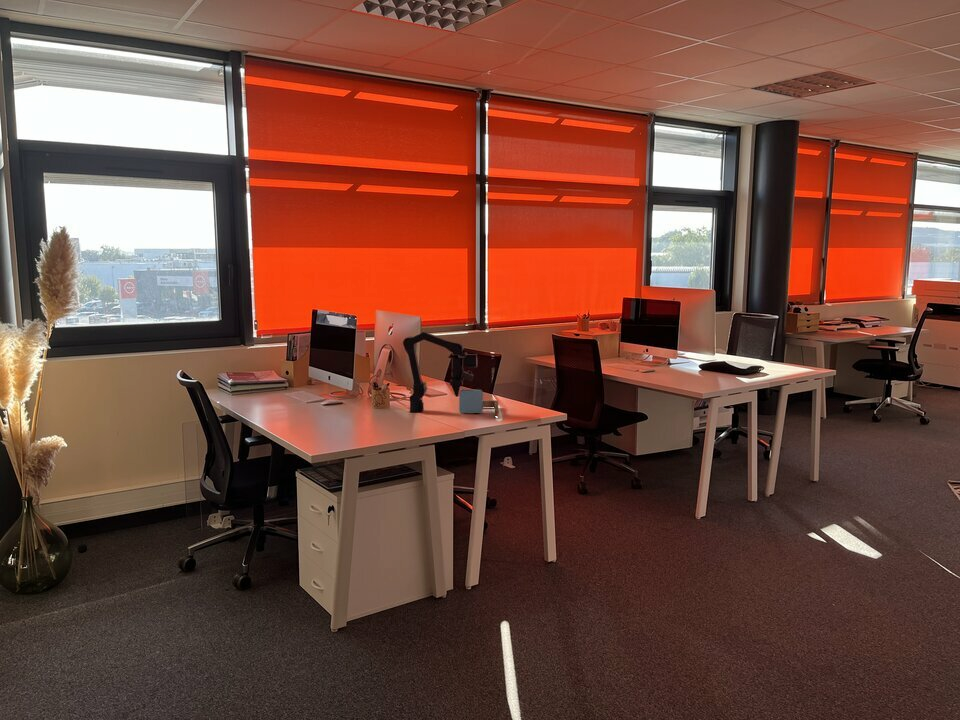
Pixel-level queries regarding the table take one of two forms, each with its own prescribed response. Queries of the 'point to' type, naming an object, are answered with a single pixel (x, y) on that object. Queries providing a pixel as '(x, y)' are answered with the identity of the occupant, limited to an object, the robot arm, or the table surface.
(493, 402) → the brown angled bar
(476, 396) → the data package
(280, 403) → the table surface
